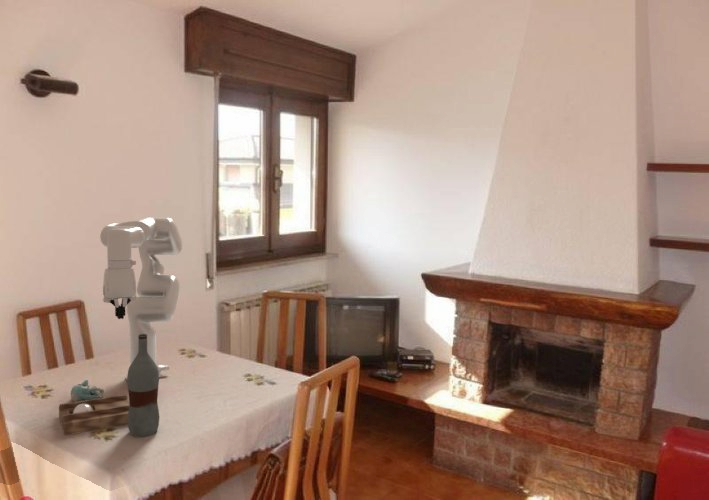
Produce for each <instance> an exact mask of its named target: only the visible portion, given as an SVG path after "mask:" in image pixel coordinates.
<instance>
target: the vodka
mask: <svg viewBox="0 0 709 500" xmlns="http://www.w3.org/2000/svg"><path fill="white" fill-rule="evenodd" d="M138 337H139V341H138V354H137V356H136V357H135V359H134V361H133V362H132V364H131V365H130V364H129V368H128V369H127V374H128V376H127V379H126V381H127V389H128V390H127V391H128V400H129V401H128V402H129V404H130V405H129V412H128V424H127V426H128V431H129V434H130V435H131V436H132V437H135V438H137V437H138V438H144V437H150V436H153V435H155V434H156V433H157V431H158V429H159V426H160V425H159V424H160V411H159V405H158V404H159V403H158V395H159V382H160V377H159V372H158V367H157V365H158V364H157V362H156V363H155V362H154V361H153V359H152V358H151V356H150V355H149V354H148V352H147V334H140V335H138ZM156 364H157V365H156Z"/></svg>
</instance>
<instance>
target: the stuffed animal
mask: <svg viewBox="0 0 709 500" xmlns="http://www.w3.org/2000/svg"><path fill="white" fill-rule="evenodd" d="M90 386H91V385H89V380H88V379H87V380H86V379H85V380H83V382H82V383H79V384H76V385H73V386H72V388H71V390H70V398H71V399H72V400H73V402H78V401H84V400H91V399H98V398H102V395H103V393H104V392H105V389H104V388H100V387H97V386H96V385H94V386H92V387H90Z"/></svg>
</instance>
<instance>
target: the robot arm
mask: <svg viewBox="0 0 709 500" xmlns="http://www.w3.org/2000/svg"><path fill="white" fill-rule="evenodd" d="M99 237H100V242H101V243H102V246H104V247H106V248H107V249H106V251H107V252H106V253H107V254H106V255H107V256H106V257H107V258H106V259H107V268H105V269H104V273H103V283H102V285H103V286H102V292H103V293H102V294H103V298H102V301H103V302H104V303H107V304H112V305H113V307H114V310H115V311H114V314H115V317H116V318H117V319H118V320H121V319H122V320H124V318H125V317H124V316H126V313H127V318H128V325H129V326H128V327H129V360H130V361H129V362H130V363H129V366H130V365H131V364H132V362H133V361H134V359H135V357H136V356H137V354H138V341H139V337H138V335H140V334H147V352H148V354H149V355H150V356H151V358H152V359H153V361H154V362H155V363H156V365H157V367H158V372H159V378H161V372H163V371H164V372H165V371H170V366H169V365H167V364H166V365H164V364H161V365H158V363H157V333H156V329H155V327H154V325H153V324H152V323H168V322H170V321H172V320H173V319H174V316H175V313H176V308H177V304H178V299H179V294H180V281H179V279H178V277H176V276H175V275H173V274H172V275H171V274H165V273H164V272H165V266H164V264H163V263H162V262H161V260H160V259H159V258H158V257H156V256H159V255H160V256H176V255H177V256H178V255H179V254H180V253H181V251H182V249H183V241H182V237H181V235H180V231H179V229H178V226H177V224H176V223H175V221H174V220H173V219H172V218H170V217H159V216H158V217H156V216H155V217H153V216H150V217H149V216H148V217H143V218H140V219H137V220H131V221H124V222H117V223H110V224H107V225H105V226H104V227H103V228H102V230H101V231H100V236H99ZM137 248H138V254H139V257H140V262H141V267H142V268H141V271H140V275H139V278H138V282H136V275H135V270H134V268H133V266H135V265H137V261H136V260H133V259H132V249H137ZM137 295H138V296H137ZM119 299H121V303H119ZM127 376H128V373H127V374H126V375H125V379H126V380H127Z"/></svg>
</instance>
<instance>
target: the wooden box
mask: <svg viewBox="0 0 709 500" xmlns="http://www.w3.org/2000/svg"><path fill="white" fill-rule="evenodd" d="M127 396H128V395H127V394H119V395H111V396H106V397H100V398H98V399H91V400H84V401H78V402H75V401H73V402H65V403H59V406H58V415H59V416H58V417H59V421H60V424H61V428H62V431H63V434H64V436H68V435H74V434H79V433H85V432H91V431H96V430H102V429H107V428H114V427H120V426H125V425H128V412H129V405H130V404H129V401H128V400H129V399H128V397H127ZM80 404H88V405H90V406H91V407H92V408H93V410H91V411H85V412H79V413H73V410H74V409H75V407H76V406H78V405H80Z"/></svg>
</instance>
